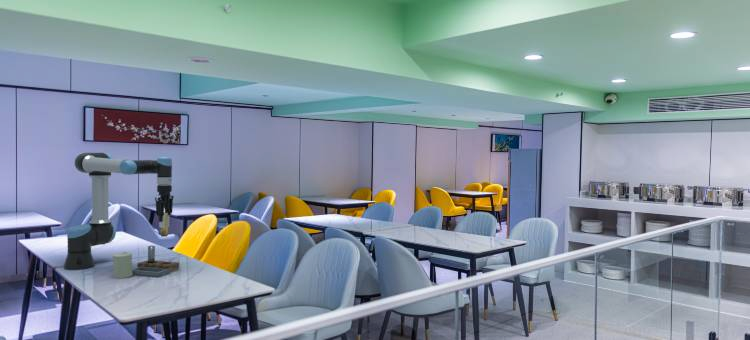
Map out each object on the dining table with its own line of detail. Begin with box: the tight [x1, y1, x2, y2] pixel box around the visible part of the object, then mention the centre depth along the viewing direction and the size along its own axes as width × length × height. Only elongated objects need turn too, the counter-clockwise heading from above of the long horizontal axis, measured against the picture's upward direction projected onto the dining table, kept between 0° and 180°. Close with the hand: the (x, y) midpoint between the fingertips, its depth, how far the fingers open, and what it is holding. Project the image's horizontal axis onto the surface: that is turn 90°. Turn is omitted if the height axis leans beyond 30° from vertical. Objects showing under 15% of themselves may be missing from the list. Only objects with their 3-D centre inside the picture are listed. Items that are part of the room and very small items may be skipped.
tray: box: [132, 266, 170, 278], centre depth 283 cm, size 18×9×2 cm, turn 76°
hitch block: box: [137, 259, 180, 274], centre depth 293 cm, size 20×9×4 cm, turn 76°
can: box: [112, 252, 134, 279], centre depth 278 cm, size 9×9×12 cm
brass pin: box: [160, 211, 169, 238], centre depth 291 cm, size 4×4×13 cm
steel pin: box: [147, 245, 156, 263], centre depth 294 cm, size 4×4×13 cm
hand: (164, 227), depth 291 cm, fingers closed on brass pin, 4 cm apart
